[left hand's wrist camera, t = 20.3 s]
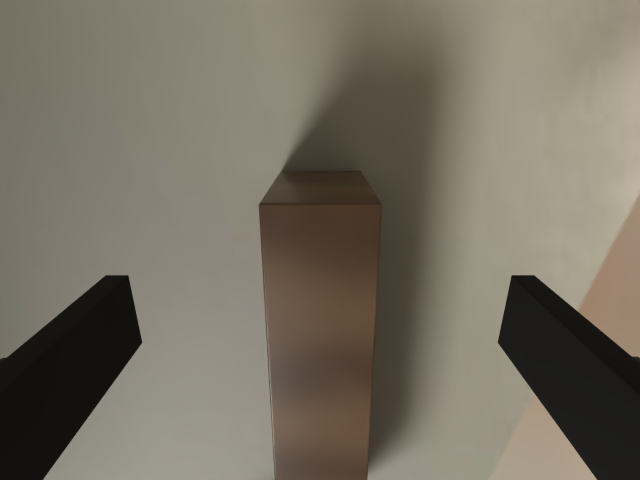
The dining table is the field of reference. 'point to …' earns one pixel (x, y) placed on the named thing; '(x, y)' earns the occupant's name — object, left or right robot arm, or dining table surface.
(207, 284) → the dining table surface
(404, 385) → the dining table surface
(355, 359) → the bar
